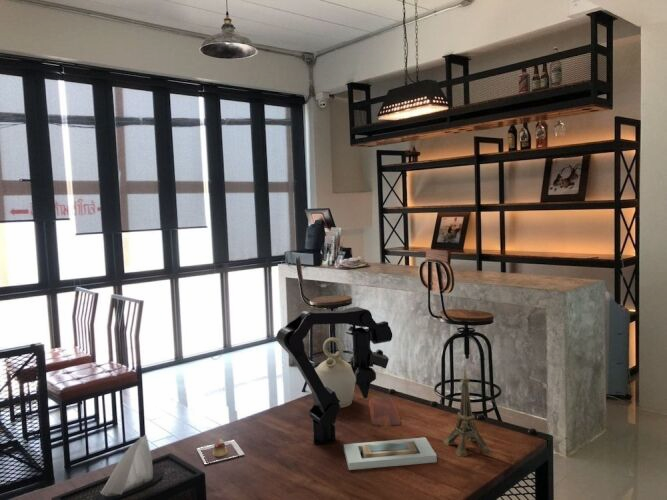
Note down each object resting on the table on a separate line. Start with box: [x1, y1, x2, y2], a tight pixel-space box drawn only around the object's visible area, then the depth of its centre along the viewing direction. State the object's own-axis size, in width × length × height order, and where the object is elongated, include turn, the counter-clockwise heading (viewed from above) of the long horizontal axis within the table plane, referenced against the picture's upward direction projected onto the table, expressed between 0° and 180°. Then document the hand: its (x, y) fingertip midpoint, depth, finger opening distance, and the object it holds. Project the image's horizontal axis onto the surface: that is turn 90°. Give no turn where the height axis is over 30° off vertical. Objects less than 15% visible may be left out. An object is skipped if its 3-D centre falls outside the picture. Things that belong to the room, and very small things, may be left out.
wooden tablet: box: [368, 396, 402, 427], centre depth 192 cm, size 27×10×2 cm, turn 0°
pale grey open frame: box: [343, 437, 438, 471], centre depth 157 cm, size 25×12×2 cm, turn 95°
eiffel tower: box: [442, 364, 493, 458], centre depth 160 cm, size 11×11×25 cm
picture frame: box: [361, 442, 417, 459], centre depth 157 cm, size 15×6×3 cm, turn 93°
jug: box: [315, 336, 356, 409], centre depth 201 cm, size 15×16×25 cm
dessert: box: [196, 438, 245, 465], centre depth 164 cm, size 12×12×5 cm
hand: (363, 393), depth 176 cm, fingers open, 9 cm apart
